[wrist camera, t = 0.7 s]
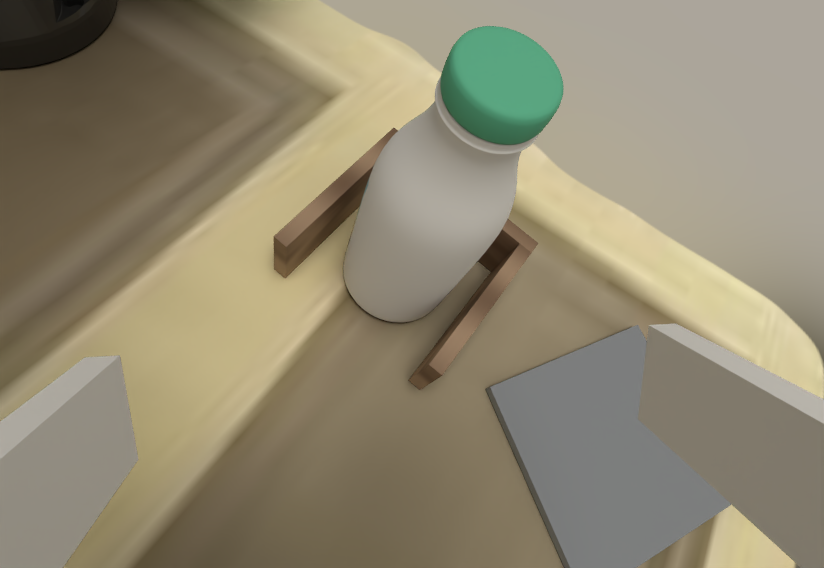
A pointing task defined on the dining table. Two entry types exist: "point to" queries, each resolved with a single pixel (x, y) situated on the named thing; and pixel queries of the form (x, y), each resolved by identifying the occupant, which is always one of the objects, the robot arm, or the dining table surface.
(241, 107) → the dining table surface
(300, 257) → the wooden frame
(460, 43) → the milk bottle
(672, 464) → the grey tile
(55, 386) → the robot arm
